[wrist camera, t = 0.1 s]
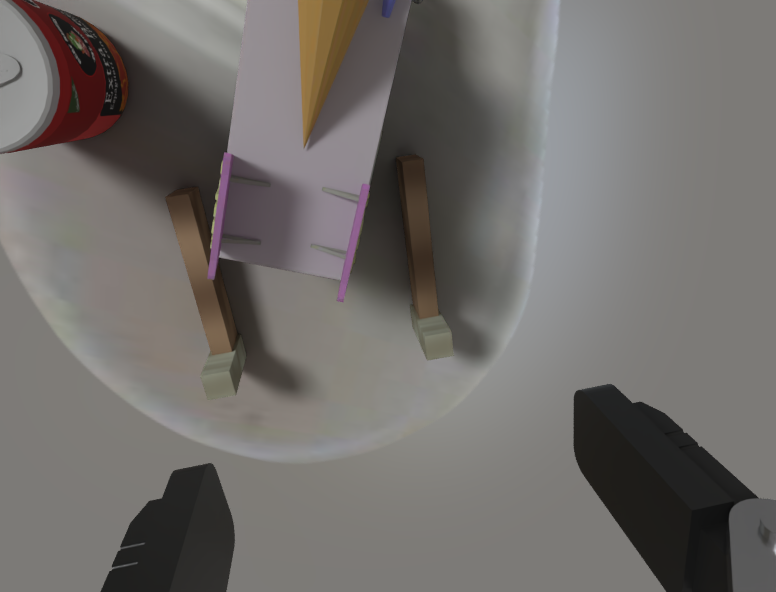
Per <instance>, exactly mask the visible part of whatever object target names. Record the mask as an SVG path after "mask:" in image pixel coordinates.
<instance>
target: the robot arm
mask: <svg viewBox="0 0 776 592" xmlns="http://www.w3.org/2000/svg"><path fill="white" fill-rule="evenodd" d="M574 452H575V457H576V460H577V463H578V465H579V468H580V470H581V472H582V473H583V475H584V477H585V478H586V479H587V481H588V482H589V484H590V485H591V486H592V488H593V489H594V491H595V492H596V493H597V495H598V496H599V498H600V499H601V500H602V502H603V503H604V504H605V506H606V508H607V509H608V510H609V512H610V513H611V514H612V516H613V517H614V519H615V520H616V522H617V523H618V524H619V526H620V527H621V528H622V530H623V531H624V533H625V534H626V536H627V537H628V538H629V540H630V541H631V542H632V544H633V545H634V547H635V548H636V550H637V551H638V552H639V554H640V555H641V557H642V558H643V559H644V561H645V562H646V564H647V565H648V566H649V568H650V569H651V571H652V572H653V573H654V575H655V576H656V578H657V579H658V580H659V582H660V583H661V585H662V586H663V587H664V589H665V590H666V592H776V500H771V499H761V498H758V497H757V496H756V495H755V494H754V493H752V491H750V490H749V489H748V488H747V487H746V486H745V485H744V484H743V483H741V482H740V481H739V480H738V479H737V478H736V477H735V476H734V475H733V474H732V473H730V472H729V471H728V470H727V469H726V468H725V467H724V466H723V465H722V464H720V463H719V462H718V461H717V460H716V459H715V458H714V457H712V455H710V454H709V453H708V452H707V451H706V450H705V449H704V448H703V447H699V446H698V443H697V442H696V441H695V440H694V439H693V438H692V437H690V436H689V435H688V434H687V433H684V432H683V429H682V428H680V427H679V426H678V425H677V424H676V423H675V422H674V421H673V420H672V419H670V418H669V417H668V416H667V415H666V414H665V413H663V412H661V411H659V410H657V409H655V408H653V407H651V406H649V405H647V404H644V403H642V402H636V403H632V402H631V401H630V400H629V399H628V398H627V397H626V396H624V395H623V394H622V393H621V392H620V391H619V390H618V389H617V388H616V387H615V386H614V385H612V384H607V385H602V386H597V387H592V388H587V389H582V390H578V391H576V393H575V395H574ZM234 543H235V534H234V525H233V519H232V515H231V512H230V509H229V507H228V504H227V501H226V498H225V495H224V492H223V489H222V486H221V483H220V480H219V477H218V475H217V471H216V469H215V467H214V465H213V464H211V463H208V464H203V465H198V466H193V467H189V468H183V469H178V470H175V471H173V473H172V474H171V476H170V479H169V481H168V484H167V487H166V489H165V492H164V495H163V497H162V499H157V500H152V501H149V502H148V503H147V504H146V506H145V507H144V508H143V509H142V510H141V511H140V513H139V514H138V515H137V516H136V517H135V518H134V519H133V521H132V522H131V523H130V525H129V528H128V530H127V532H126V534H125V537H124V539H123V541H122V544H121V546H120V547H121V550H120V551H118V553H117V555H116V557H115V560H114V562H113V564H112V571H110V572H109V574H108V576H107V578H106V581H105V583H104V585H103V588H102V590H101V592H226V590H227V584H228V579H229V573H230V568H231V562H232V557H233V551H234Z"/></svg>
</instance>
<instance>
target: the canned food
mask: <svg viewBox="0 0 776 592" xmlns="http://www.w3.org/2000/svg"><path fill="white" fill-rule="evenodd" d="M127 97H128V79H127V73H126V70H125V67H124V64H123V62H122V59H121V57H120V55H119V54H118V52H117V50H116V49H115V47H114V46H113V44H112V43H111V42H110V41H109V40H108V38H107V37H106V36H105V35H104V34H103V33H102V32H101V31H99V30H98V29H97V28H96V27H95V26H93V25H92V24H90V23H89V22H87V21H85V20H84V19H82V18H80V17H78V16H75V15H73V14H70V13H68V12H65V11H62V10H59V9H56V8H54V7H51V6H48V5H45V4H43V3H40V2H37V1H34V0H0V154H3V153H11V152H17V151H22V150H27V149H33V148H38V147H44V146H49V145H54V144H60V143H65V142H71V141H76V140H81V139H86V138H91V137H94V136H96V135H99V134H101V133H103V132H105V131H106V130H107V129H109V128H110V127H111V126H113V124H114V123H115V122H116V121H117V120H118V119H119V117H120V116H121V114H122V112H123V110H124V108H125V105H126V101H127Z"/></svg>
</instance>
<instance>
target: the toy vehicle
mask: <svg viewBox="0 0 776 592" xmlns="http://www.w3.org/2000/svg"><path fill="white" fill-rule="evenodd" d="M411 1H413V2H415V3H416V4H419V3H420V2H422V1H423V0H248V1H247V8H246V16H245V23H244V31H243V38H242V46H241V53H240V60H239V68H238V75H237V83H236V90H235V97H234V105H233V112H232V120H231V127H230V134H229V142H228V149H227V153H226V152H224V157H223V161H222V164H221V171H220V174H221V178H220V180H219V188H218V190H217V192H216V196H215V200H217V202H216V203H215V207H214V214H213V216H214V219H213V224H212V231H211V233H212V237H211V245H210V248H211V255H210V263H209V270H208V278H207V279H212V280H214V278H215V274H216V269H217V264H218V259H219V258H224V259H229V260H234V261H240V262H245V263H250V264H256V265H261V266H266V267H272V268H277V269H282V270H288V271H293V272H298V273H303V274H309V275H314V276H319V277H325V278H330V279H335V280H341V282H340V287H339V293H338V298H337V301H339V302H343V300H344V296H345V292H346V287H347V283H348V279H349V274H350V273H351V272H352V268H353V264H355V260H356V250H358V246H359V241H360V240H359V239H360V235H361V232H362V228H363V221H364V215H365V207H367V205H368V199H369V196H370V193H369V188H370V184H371V180H372V176H373V171H374V167H375V163H376V159H377V154H378V150H379V146H380V142H381V137H382V133H383V131H382V127H383V122H384V118H385V114H386V109H387V105H388V101H389V96H390V92H391V88H392V83H393V79H394V75H395V70H396V66H397V62H398V57H399V53H400V49H401V44H402V40H403V36H404V31H405V27H406V23H407V18H408V14H409V10H410V5H411Z"/></svg>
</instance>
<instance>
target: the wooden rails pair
mask: <svg viewBox="0 0 776 592" xmlns="http://www.w3.org/2000/svg"><path fill="white" fill-rule="evenodd" d="M396 165H397V173H398V182H399V190H400V199H401V207H402V216H403V224H404V233H405V241H406V250H407V258H408V267H409V275H410V284H411V292H412V301H413V305H410V309H411V318H412V326H413V329H414V331H415V333H416V336H417V338H418V340H419V343H420V345H421V347H422V350H423V352H424V354H425V357H426V359H427V360H433V359H438V358H444V357H450V356H454V355H453V344H452V332H451V330H450V328H449V327H448V325H447V323H446V322H445V320H444V318H443V316H442V315H441V313H440V311H439V310H438V304H437V293H436V283H435V273H434V262H433V252H432V242H431V231H430V221H429V211H428V200H427V190H426V180H425V170H424V159H423V158H421V157H419V156H417V155H416V154H415V155H408V156H401V157H396ZM165 198H166V202H167V205H168V208H169V212H170V215H171V218H172V222H173V225H174V229H175V232H176V235H177V239H178V242H179V245H180V249H181V252H182V256H183V259H184V262H185V266H186V269H187V272H188V276H189V279H190V283H191V286H192V289H193V293H194V296H195V299H196V303H197V306H198V310H199V313H200V316H201V320H202V323H203V327H204V330H205V333H206V337H207V340H208V343H209V347H210V350H211V351H210V354H209V356H208V359H207V361H206V364H205V366H204V368H203V371H202V373H201V376H200V377H201V380H202V383H203V387H204V390H205V393H206V396H207V399H208V400H212V399H218V398H223V397H229V396H234V395H236V393H237V390H238V386H239V382H240V378H241V375H242V371H243V367H244V363H245V360H246V356H247V355H246V352H245V348H244V344H243V340H242V337H241V334H237V330H236V326H235V323H234V319H233V315H232V311H231V308H230V304H229V300H228V297H227V293H226V289H225V285H224V282H223V278H222V274H221V271H220V267H219V263H218V264H217V269H216V274H215V278H214V280H212V279H207V278H208V270H209V263H210V255H211V248H210V245H211V233H210V230H209V226H208V222H207V219H206V215H205V211H204V207H203V204H202V200H201V196H200V193H199V189H198V187H192V188H185V189H178V190H176V191H174V192H172V193H171V194H169V195H168V196H166V197H165Z"/></svg>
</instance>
